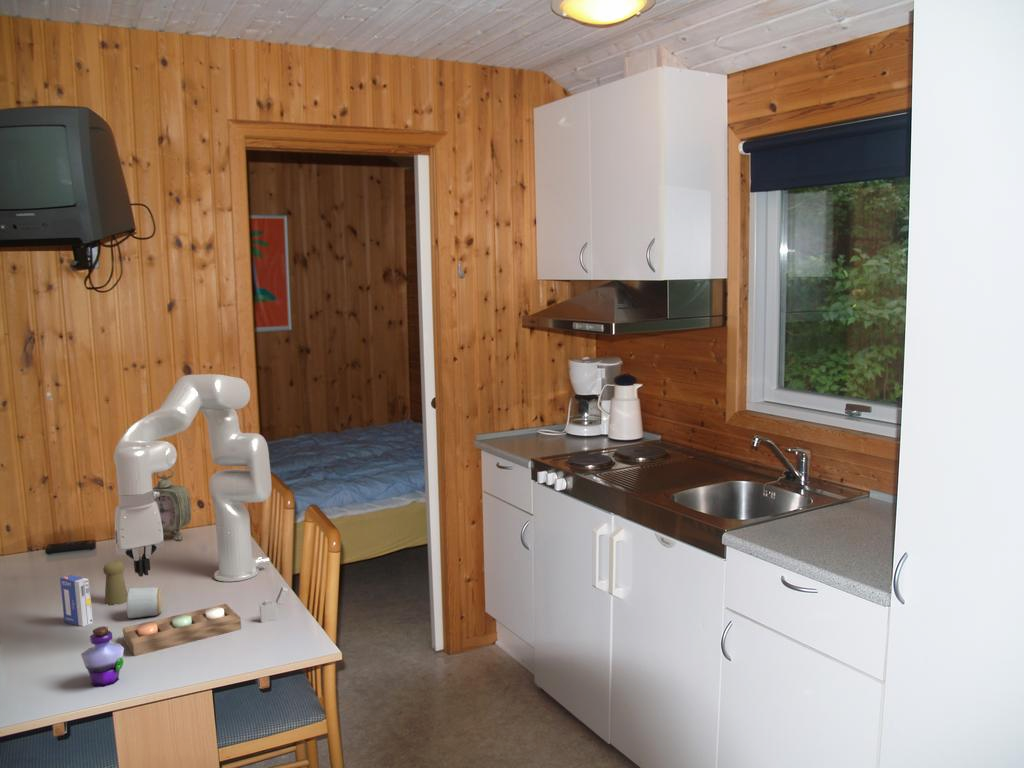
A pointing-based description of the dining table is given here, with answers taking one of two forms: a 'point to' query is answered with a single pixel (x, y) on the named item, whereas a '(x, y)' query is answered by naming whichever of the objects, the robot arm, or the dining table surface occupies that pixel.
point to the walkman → (76, 600)
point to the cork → (114, 583)
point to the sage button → (181, 621)
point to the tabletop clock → (173, 505)
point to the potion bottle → (103, 658)
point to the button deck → (181, 630)
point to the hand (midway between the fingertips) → (142, 574)
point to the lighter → (271, 607)
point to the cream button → (214, 613)
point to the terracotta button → (147, 629)
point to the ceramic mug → (144, 602)
